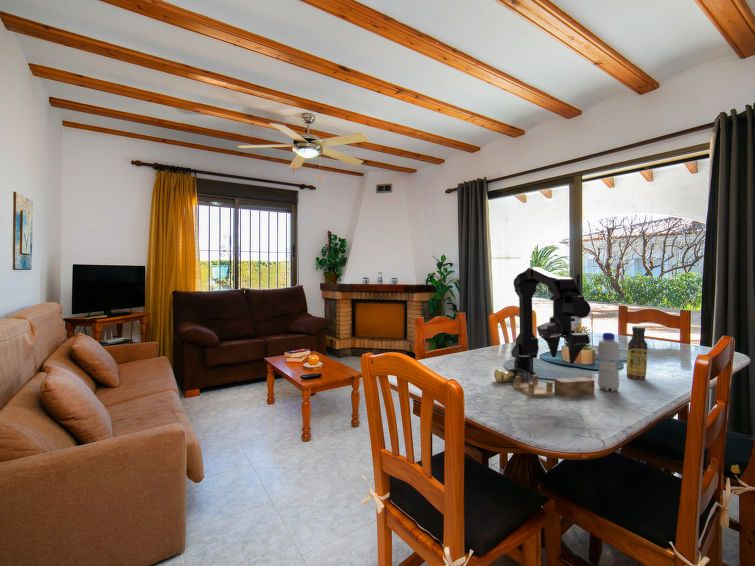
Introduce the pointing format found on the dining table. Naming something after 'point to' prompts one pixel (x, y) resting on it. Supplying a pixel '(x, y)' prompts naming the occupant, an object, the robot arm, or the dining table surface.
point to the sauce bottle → (637, 355)
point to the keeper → (521, 374)
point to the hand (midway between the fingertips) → (562, 360)
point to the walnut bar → (574, 386)
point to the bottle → (608, 363)
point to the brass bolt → (503, 376)
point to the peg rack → (534, 387)
